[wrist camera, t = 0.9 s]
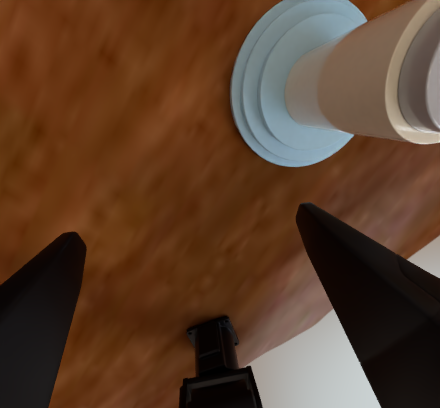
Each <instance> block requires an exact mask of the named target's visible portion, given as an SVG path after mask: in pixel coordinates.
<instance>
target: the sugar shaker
mask: <svg viewBox="0 0 440 408" xmlns="http://www.w3.org/2000/svg"><path fill="white" fill-rule="evenodd" d="M284 96H285V104H286V108H287V110H288V112H289V114H290V116H291V117H292V119H293V120H294V121H295V122H297V123H298V124H300V125H301V126H304V127H308V128H314V129H321V130H327V131H334V132H341V133H348V134H354V135H361V136H368V137H375V138H381V139H388V140H395V141H402V142H408V143H415V144H434V143H438V142H440V0H410V1H408V2H406V3H404V4H401V5H399V6H397V7H395V8H393V9H391V10H389V11H387V12H385V13H383V14H381V15H379V16H377V17H375V18H373V19H371V20H369V21H367V22H365V23H363V24H361V25H359V26H357V27H355V28H353V29H351V30H349V31H347V32H345V33H343V34H341V35H339V36H337V37H335V38H333V39H331V40H329V41H327V42H325V43H323V44H321V45H319V46H317V47H315V48H313V49H311V50H309V51H307V52H306V53H304V54H303V55H302V56H301V57H300V58H299V59H298V60H297V61H296V63H295V64H294V65H293V67H292V68H291V70H290V72H289V75H288V77H287V80H286V84H285V95H284Z"/></svg>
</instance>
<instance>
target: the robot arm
mask: <svg viewBox="0 0 440 408" xmlns="http://www.w3.org/2000/svg"><path fill="white" fill-rule="evenodd" d="M296 223H297V226H298V229H299V232H300V235H301V238H302V240H303V243H304V246H305V249H306V252H307V254H308V256H309V258H310V260H311V263H312V265H313V267H314V269H315V271H316V273H317V275H318V277H319V279H320V281H321V283H322V285H323V287H324V289H325V292H326V294H327V296H328V298H329V300H330V302H331V304H332V306H333V308H334V310H335V312H336V314H337V316H338V318H339V321H340V323H341V324H342V327H343V329H344V331H345V333H346V335H347V337H348V339H349V341H350V343H351V345H352V348H353V350H354V352H355V354H356V356H357V358H358V360H359V362H360V364H361V366H362V368H363V371H364V373H365V375H366V377H367V379H368V381H369V383H370V385H371V387H372V389H373V391H374V393H375V395H376V397H377V400H378V402H379V404H380V406H381V408H440V278H438V277H436V276H434V275H432V274H430V273H429V272H427V271H425V270H423V269H421V268H420V267H418V266H416V265H414V264H413V263H411V262H409V261H408V260H406V259H404V258H403V257H401V256H399V255H398V254H395V253H394V252H392V251H391V250H389V249H387V248H386V247H384V246H382V245H381V244H379V243H377V242H376V241H374V240H372V239H371V238H369V237H367V236H366V235H364V234H362V233H361V232H359V231H357V230H356V229H354V228H352V227H351V226H349V225H347V224H346V223H344V222H342V221H341V220H339V219H337V218H336V217H334V216H332V215H331V214H329V213H327V212H326V211H324V210H322V209H321V208H319V207H317V206H316V205H314V204H312V203H310V202H307V203H301V204H300V205H299V208H298V211H297V215H296ZM86 250H87V249H86V245H85V243H84V242H83V240H82V239H81V237H80V236H79V235H78V233H76V232H66V233H63V234H61V235H60V236H59V237H58V238H56V239H55V240H54V241H53V242H52V243H51V244H49V245H48V246H47V247H46V248H45V249H43V250H42V251H41V252H40V253H39V254H37V255H36V256H35V257H34V258H33V259H31V260H30V261H29V262H28V263H27V264H25V265H24V266H23V267H22V268H21V269H19V270H18V271H17V272H16V273H15V274H13V275H12V276H11V277H10V278H9V279H7V280H6V281H5V282H4V283H3V284H1V285H0V408H48V407H49V403H50V399H51V395H52V392H53V388H54V384H55V381H56V377H57V373H58V370H59V366H60V362H61V359H62V355H63V351H64V348H65V344H66V340H67V337H68V333H69V329H70V326H71V322H72V318H73V314H74V311H75V307H76V303H77V300H78V296H79V292H80V288H81V283H82V277H83V271H84V264H85V257H86ZM187 336H188V337H189V339H190V341H191V343H192V344H193V346H194V348H195V369H196V377H194V378H189V379H188V378H184V379H183V386H181V388H180V397H179V408H263V407H262V403H261V399H260V396H259V392H258V389H257V386H256V382H255V379H254V376H253V372H252V369H251V366H247V367H245V368H240V369H239V366H238V361H237V355H236V350H235V346H237V345H238V344H239V341H238V338H237V336H236V333H235V331H234V329H233V326H232V324H231V321H230V319H229V317H223V318H220V319H217V320H214V321H211V322H208V323H205V324H202V325H199V326H196V327H193V328H190V329H188V330H187Z"/></svg>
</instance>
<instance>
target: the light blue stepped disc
mask: <svg viewBox="0 0 440 408" xmlns="http://www.w3.org/2000/svg"><path fill="white" fill-rule="evenodd" d="M365 22H367V20H366V18H365V16H364V15H363V14H362V13H361V11H360V10H359V9H358V8H357V7H356V6H355V5H353V4H352V3H351V2H350V1H348V0H283V1H281V2H280V3H278V4H276V5H275V6H274V7H272V8H271V9H270V10H269V11H268V12H266V13H265V14H264V15H263V16H262V17H261V18H260V20H259V21H258V22H257V23H256V24H255V25H254V27H253V28H252V29H251V31H250V32H249V34H248V35H247V36H246V38H245V40H244V42H243V43H242V45H241V47H240V49H239V52H238V54H237V56H236V59H235V62H234V66H233V69H232V74H231V81H230V106H231V111H232V116H233V119H234V122H235V125H236V127H237V130H238V132H239V134H240V135H241V137H242V139H243V140H244V142H245V143H246V144H247V145H248V146H249V147H250V148H251V149H252V150H253V151H254V152H255V153H256V154H258V155H259V156H261V157H262V158H264V159H265V160H267V161H269V162H272V163H274V164H277V165H281V166H288V167H299V166H306V165H310V164H314V163H317V162H319V161H322V160H324V159H326V158H327V157H329V156H331V155H332V154H334V153H335V152H337V151H338V150H339V149H340V148H342V147H343V146H344V145H345V144H346V143H347V142H348V141H349V140H350V139H351V138H352V137H353V135H354V134H348V133H341V132H334V131H327V130H321V129H314V128H308V127H304V126H301V125H300V124H298V123H297V122H295V121H294V120H293V119H292V117H291V116H290V114H289V112H288V110H287V108H286V104H285V96H284V95H285V84H286V80H287V77H288V75H289V72H290V70H291V68H292V67H293V65H294V64H295V63H296V61H297V60H298V59H299V58H300V57H301V56H302V55H303V54H304V53H306V52H307V51H309V50H311V49H313V48H315V47H317V46H319V45H321V44H323V43H325V42H327V41H329V40H331V39H333V38H335V37H337V36H339V35H341V34H343V33H345V32H347V31H349V30H351V29H353V28H355V27H357V26H359V25H361V24H363V23H365Z"/></svg>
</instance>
